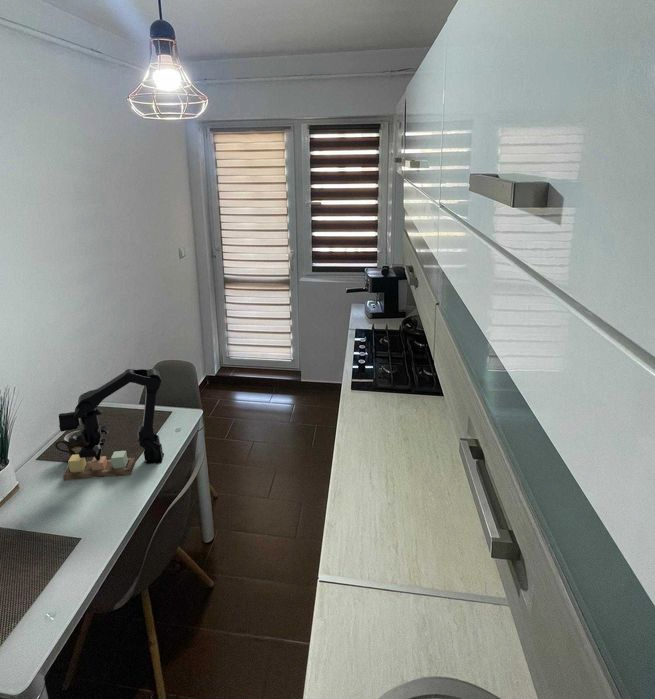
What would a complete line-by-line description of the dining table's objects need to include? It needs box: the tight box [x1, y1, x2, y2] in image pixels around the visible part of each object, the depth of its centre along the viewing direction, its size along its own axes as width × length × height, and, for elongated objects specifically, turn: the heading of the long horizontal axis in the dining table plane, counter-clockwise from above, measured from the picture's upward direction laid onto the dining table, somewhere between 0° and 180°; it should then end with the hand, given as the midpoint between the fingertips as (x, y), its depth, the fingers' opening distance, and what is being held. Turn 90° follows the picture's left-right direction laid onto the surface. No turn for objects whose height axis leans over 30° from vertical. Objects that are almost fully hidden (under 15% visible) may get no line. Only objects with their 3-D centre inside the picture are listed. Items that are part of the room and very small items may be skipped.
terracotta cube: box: [90, 455, 108, 471], centre depth 195 cm, size 5×5×5 cm
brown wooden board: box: [62, 457, 137, 482], centre depth 196 cm, size 25×9×2 cm, turn 98°
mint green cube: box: [110, 450, 129, 469], centre depth 196 cm, size 5×5×5 cm
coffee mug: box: [55, 430, 88, 459], centre depth 204 cm, size 12×9×10 cm
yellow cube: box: [67, 454, 87, 472], centre depth 194 cm, size 5×5×5 cm
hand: (98, 459), depth 194 cm, fingers closed, pressing on terracotta cube
